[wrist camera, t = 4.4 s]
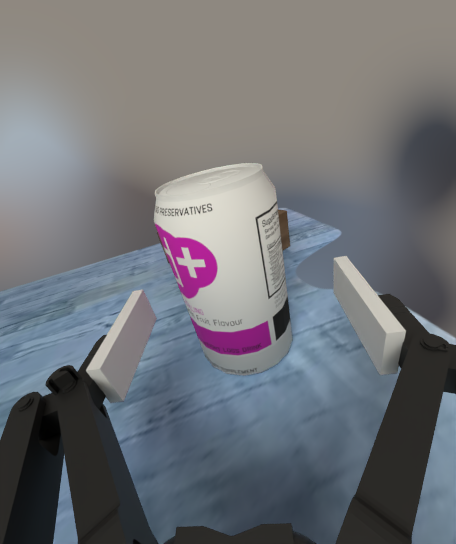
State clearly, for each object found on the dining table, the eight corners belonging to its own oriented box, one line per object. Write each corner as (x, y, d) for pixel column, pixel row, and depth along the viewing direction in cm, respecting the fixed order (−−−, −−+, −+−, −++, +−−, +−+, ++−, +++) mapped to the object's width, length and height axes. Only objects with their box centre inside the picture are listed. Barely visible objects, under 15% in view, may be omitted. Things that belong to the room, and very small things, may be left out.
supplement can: (238, 401, 19) (175, 207, 11) (191, 341, 25) (130, 192, 18) (312, 342, 22) (302, 160, 14) (254, 302, 28) (225, 161, 21)
